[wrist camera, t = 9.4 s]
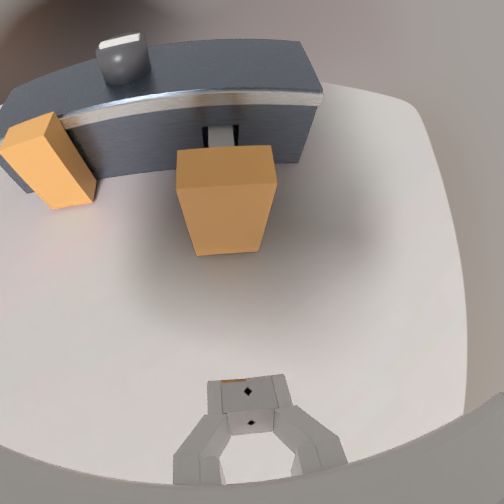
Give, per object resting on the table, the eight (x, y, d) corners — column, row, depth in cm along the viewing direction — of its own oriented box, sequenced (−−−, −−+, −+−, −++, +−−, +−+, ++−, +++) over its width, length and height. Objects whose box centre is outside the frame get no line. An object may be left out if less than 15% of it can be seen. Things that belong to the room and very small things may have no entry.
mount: (298, 166, 27) (324, 93, 18) (26, 196, 24) (-20, 148, 15) (284, 109, 30) (299, 41, 21) (44, 140, 27) (12, 89, 18)
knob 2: (258, 251, 23) (277, 182, 14) (196, 255, 23) (175, 189, 13) (242, 121, 28) (249, 42, 19) (195, 124, 28) (187, 45, 18)
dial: (146, 80, 18) (139, 45, 14) (99, 90, 17) (87, 57, 14) (153, 55, 19) (148, 24, 16) (110, 63, 18) (102, 34, 15)
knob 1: (92, 202, 24) (43, 135, 14) (52, 209, 23) (-2, 151, 14) (116, 102, 28) (95, 37, 19) (81, 110, 28) (56, 51, 19)
